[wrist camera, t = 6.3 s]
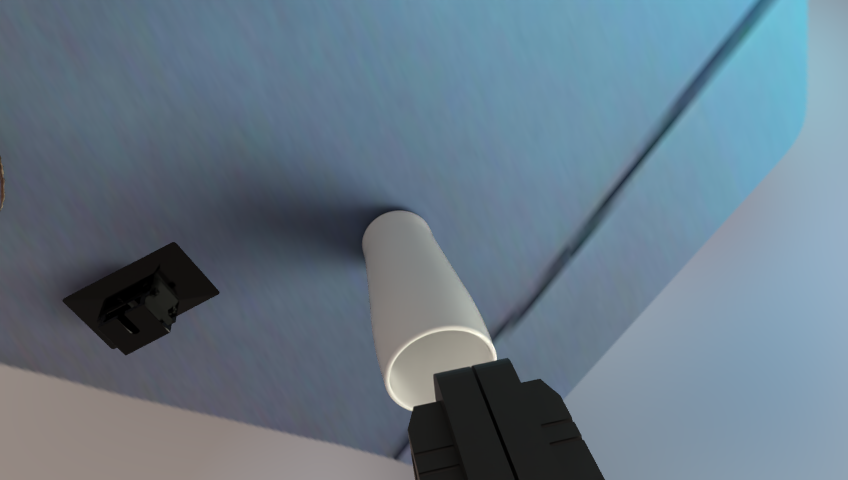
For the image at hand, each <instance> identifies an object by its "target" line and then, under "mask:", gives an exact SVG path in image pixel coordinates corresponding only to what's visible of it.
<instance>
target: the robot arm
mask: <svg viewBox="0 0 848 480" xmlns="http://www.w3.org/2000/svg"><path fill="white" fill-rule="evenodd" d="M433 380H434V390H435V399H436V402H432V403H427V404H423V405H418V406H414V407H413V411H412V415H411V419H410V423H409V427H408V434H409V441H410V448H411V455H412V462H413V469H414V475H415V480H605V479H604V477H603V475H602V473H601V472H600V470H599V468H598V466H597V464H596V462H595V460H594V458H593V457H592V455H591V453H590V451H589V449H588V447H587V445H586V443H585V441H584V440H582V437H581V434H580V432H579V430H578V428H577V426H576V424H575V423H574V422H573V421H572V417H571V415H570V413H569V411H568V409H567V407H566V406H565V404H564V402H563V400H562V398H561V396H560V395H559V394H558V393H556V392H555V391H554V390H553V389H552V388H550V387H549V386H548V385H547V384H546V383H544V382H543V381H542V380H541V379H537V380H532V381H528V382H523V383H521V382H520V380H519V378H518V376H517V373H516V371H515V369H514V367H513V365H512V363H511V361H510V360H509V359H508V358H505V359H500V360H496V361H491V362H486V363H481V364H477V365H472V366H471V367H470V366H468V367H463V368H459V369H454V370H449V371H445V372H440V373H435V374H433Z"/></svg>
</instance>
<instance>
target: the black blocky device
mask: <svg viewBox="0 0 848 480" xmlns="http://www.w3.org/2000/svg"><path fill="white" fill-rule="evenodd" d="M218 294H219V291H218V290H217V289H216V287H215V286H214V285H213V284H212V283H211V282H210V281H209V280H208V278H207V277H206V276H205V275H204V274H203V273H202V272H201V271H200V269H199V268H198V267H197V266H196V265H195V264H194V263H193V262H192V260H191V259H190V258H189V257H188V256H187V255H186V254H185V253H184V251H183V250H182V249H181V248H180V247H179V246H178V245H177V244H176V243H175V242H172V243H170V244H168V245H166V246H164V247H162V248H161V249H159V250H157V251H155V252H153V253H151V254H149V255H147V256H145V257H143V258H141V259H139V260H137V261H135V262H133V263H132V264H130V265H128V266H126V267H124V268H122V269H120V270H118V271H116V272H114V273H112V274H110V275H108V276H106V277H104V278H103V279H101V280H99V281H97V282H95V283H93V284H91V285H89V286H87V287H85V288H83V289H81V290H79V291H77V292H75V293H74V294H72V295H70V296H68V297H66V298H64V299H63V302H64V303H65V304H66V305H67V306H68V307H69V308H70V309H71V310H72V311H73V312H74V313H75V314H76V315H77V316H78V317H79V318H80V319H81V320H83V321H84V322H85V323H86V324H87V325H88V326H89V327H90V328H91V329H92V330H93V331H94V332H95V333H96V334H97V335H98V336H99V337H100V338H101V339H102V340H103V341H104V342H105V343H106V344H107V345H108V346H109V347H110V348H112V349H115V348H118V349H119V350H120V351H121V352H122V353H124V354H125V355H128V354H130V353H132V352H133V351H135V350H137V349H139V348H141V347H143V346H145V345H147V344H149V343H151V342H153V341H155V340H157V339H159V338H160V337H162V336H164V335H166V334H168V333H170V330H171V325H172V324H173V323H175V322H176V316H178V315H180V314H182V313H184V312H185V311H187V310H189V309H191V308H193V307H195V306H197V305H199V304H201V303H203V302H204V301H206V300H208V299H210V298H212V297H214V296H216V295H218Z"/></svg>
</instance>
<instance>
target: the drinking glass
mask: <svg viewBox="0 0 848 480" xmlns="http://www.w3.org/2000/svg"><path fill="white" fill-rule="evenodd" d="M362 249H363V254H364V258H365V263H366V272H367V282H368V292H369V303H370V314H371V324H372V333H373V340H374V346H375V350H376V355H377V359H378V363H379V367H380V370H381V374H382V377H383V380H384V383H385V387H386V390H387V392H388V394H389V395H390V397H391V398H392V399H393V400H394V401H395V402H396V403H397V404H398V405H400V406H401V407H403V408H405V409H407V410H410V411H413V407H414V406H418V405H423V404H427V403H432V402H436V399H435V390H434V380H433V374H435V373H440V372H445V371H449V370H454V369H459V368H463V367H468V366H470V367H471V366H472V365H477V364H481V363H486V362H491V361H496V360H497V356H496V351H495V348H494V345H493V343H492V340H491V338H490V335H489V332H488V330H487V328H486V325H485V323H484V321H483V318H482V316H481V314H480V312H479V310H478V308H477V306H476V304H475V303H474V301H473V299H472V298H471V296H470V294H469V293H468V291H467V289H466V288H465V286H464V285H463V283H462V281H461V280H460V278H459V277H458V275H457V274H456V272H455V270H454V269H453V267H452V266H451V264H450V263H449V261H448V259H447V258H446V256H445V255H444V253H443V251H442V250H441V248H440V247H439V245H438V243H437V242H436V240H435V238H434V237H433V234H432V232H431V230H430V228H429V226H428V224H427V223H426V222H425V221H424V220H423V219H422V218H421V217H420V216H418V215H416V214H414V213H412V212H409V211H403V210H397V211H391V212H387V213H385V214H382V215H380V216H379V217H377V218H376V219H375V220H373V221H372V222H371V223H370V225H369V226H368V227H367V229H366V231H365V233H364V236H363V240H362Z"/></svg>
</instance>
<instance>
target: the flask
mask: <svg viewBox="0 0 848 480" xmlns="http://www.w3.org/2000/svg"><path fill="white" fill-rule="evenodd" d="M3 174H4V171H3V165H2V163H1V157H0V211H1V209H2V207H3V202H4V198H5V195H4V193H5V192H4V183H5V180H4V179H3Z"/></svg>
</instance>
